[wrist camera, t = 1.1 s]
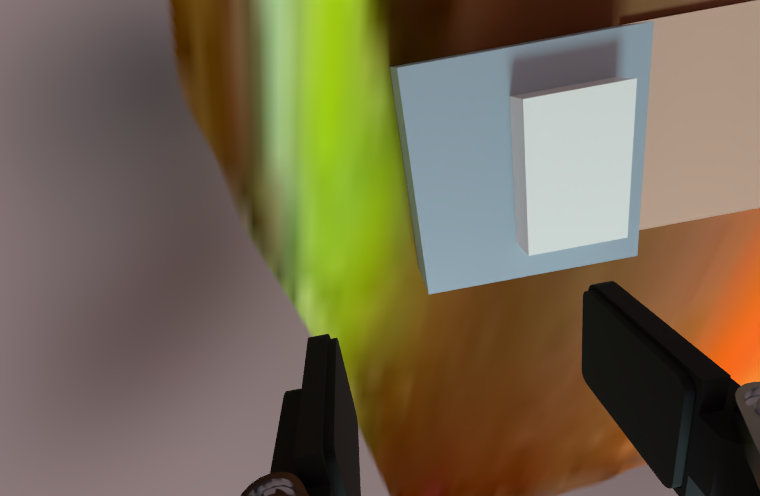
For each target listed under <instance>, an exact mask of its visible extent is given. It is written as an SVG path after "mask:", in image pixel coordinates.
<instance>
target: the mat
mask: <svg viewBox="0 0 760 496" xmlns="http://www.w3.org/2000/svg"><path fill="white" fill-rule="evenodd" d="M650 21H654V26H653V40H652V54H651V69H650V83H649V97H648V111H647V125H646V139H645V153H644V167H643V182H642V196H641V210H640V224H639V230H642V229H647V228H653V227H658V226H664V225H669V224H674V223H680V222H685V221H691V220H696V219H701V218H707V217H712V216H718V215H723V214H728V213H734V212H739V211H745V210H750V209H755V208H760V0H754V1H749V2H743V3H738V4H733V5H727V6H722V7H716V8H711V9H705V10H700V11H694V12H689V13H683V14H678V15H672V16H667V17H661V18H656V19H650V20H645V21H639V22H634V23H628V24H635V23H642V22H650ZM623 25H627V24H623Z"/></svg>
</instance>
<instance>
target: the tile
mask: <svg viewBox="0 0 760 496" xmlns="http://www.w3.org/2000/svg"><path fill="white" fill-rule="evenodd" d="M636 88H637V78H624V77H612V78H607V79H601V80H596V81H591V82H585V83H580V84H574V85H569V86H563V87H558V88H552V89H547V90H541V91H536V92H530V93H525V94H520V95H514V96H510V115H511V136H512V157H513V178H514V199H515V220H516V241H517V244H518V245H519V246H520V247H521V248H522V249H523V250H524V251H525V253H526V254H527V255H528V256H531V255H536V254H542V253H547V252H552V251H558V250H563V249H569V248H574V247H579V246H585V245H590V244H596V243H601V242H606V241H612V240H617V239H623V238H628V221H629V205H630V188H631V172H632V155H633V138H634V122H635V105H636Z"/></svg>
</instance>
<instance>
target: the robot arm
mask: <svg viewBox="0 0 760 496" xmlns="http://www.w3.org/2000/svg"><path fill="white" fill-rule="evenodd" d="M582 374H583V377H584V380H585V382H586V383H587V385H588V386H589V387H590V389H591V390H592V391H593V393H594V394H595V395H596V397H597V398H598V399H599V401H600V402H601V403H602V405H603V406H604V407H605V409H606V410H607V411H608V412H609V414H610V415H611V416H612V418H613V419H614V420H615V422H616V423H617V424H618V426H619V427H620V428H621V430H622V431H623V432H624V434H625V435H626V436H627V438H628V439H629V440H630V442H631V443H632V444H633V445H634V447H635V448H636V449H637V451H638V452H639V453H640V455H641V456H642V457H643V459H644V460H645V461H646V463H647V464H648V465H649V467H650V468H651V469H652V471H654V473H655V474H656V476H657V477H658V478H659V480H660V481H661V482H662V484H663V485H664V486H666V487H667V488H673V489H674V490H675V492H676V493H677V494H678V495H679V496H760V382H752V383H747V384H744V385H742V386H740V385H739V384H737V383H736V382H735V381H734V380H733V379H731V378H730V375H729V374H728V373H727V372H725V371H724V370H723V369H722V368H720V367H719V366H718V365H717V364H715V363H714V362H713V361H712V360H711V359H709V358H708V357H707V356H706V355H704V354H703V353H702V352H701V351H699V350H698V349H697V348H696V347H695V346H693V345H692V344H691V343H690V342H688V341H687V340H686V339H685V338H683V337H682V336H681V335H680V334H678V333H677V332H676V331H675V330H674V329H672V328H671V327H670V326H669V325H667V324H666V323H665V322H664V321H662V320H661V319H660V318H659V317H657V316H656V315H655V314H654V313H653V312H651V311H650V310H649V309H648V308H646V307H645V306H644V305H643V304H641V303H640V302H639V301H638V300H636V299H635V298H634V297H633V296H632V295H630V294H629V293H628V292H627V291H625V290H624V289H623V288H622V287H620V286H619V285H618V284H617V283H615V282H614V281H609V282H604V283H598V284H593V285H591V286H590V287H589V289H588V291H585V292H584V294H583V327H582ZM241 496H361V491H360V467H359V443H358V423H357V416H356V411H355V407H354V403H353V399H352V395H351V391H350V387H349V382H348V378H347V374H346V370H345V366H344V362H343V358H342V354H341V350H340V346H339V342H338V339H337V338H333V339H330V336H329V334H325V335H320V336H315V337H309V338H308V343H307V351H306V359H305V367H304V375H303V384H302V389H297V390H291V391H286V392H285V395H284V398H283V404H282V409H281V415H280V421H279V426H278V432H277V438H276V443H275V449H274V455H273V460H272V466H271V472H270V474H267V475H265V476H263V477H260V478H259V479H257V480H256V481H254V482H253V483H251V484H250V485H249V486H248V487H247V489H245V490H244V492H243V493H242V494H241Z"/></svg>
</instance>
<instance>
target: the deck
mask: <svg viewBox="0 0 760 496" xmlns="http://www.w3.org/2000/svg"><path fill="white" fill-rule="evenodd" d="M653 26H654V21H650V22H642V23H635V24H627V25H619V26H612V27H606V28H601V29H595V30H590V31H584V32H579V33H573V34H568V35H562V36H557V37H551V38H546V39H541V40H535V41H530V42H524V43H519V44H513V45H508V46H502V47H497V48H491V49H486V50H480V51H475V52H469V53H464V54H458V55H453V56H447V57H442V58H436V59H431V60H425V61H420V62H414V63H409V64H403V65H398V66H392V67H390V73H391V80H392V87H393V94H394V100H395V107H396V114H397V121H398V128H399V135H400V141H401V148H402V155H403V162H404V169H405V175H406V182H407V189H408V196H409V203H410V210H411V216H412V223H413V230H414V237H415V244H416V251H417V257H418V264H419V269H420V272H421V275H422V277H423V280H424V283H425V286H426V288H427V291H428V294H433V293H439V292H444V291H450V290H455V289H460V288H466V287H471V286H477V285H482V284H487V283H493V282H498V281H503V280H509V279H514V278H520V277H525V276H530V275H536V274H541V273H546V272H552V271H557V270H563V269H568V268H573V267H579V266H584V265H590V264H595V263H600V262H606V261H611V260H616V259H622V258H627V257H633V256H637V252H638V238H639V224H640V210H641V196H642V182H643V167H644V153H645V139H646V125H647V111H648V97H649V83H650V69H651V54H652V40H653ZM612 77H624V78H637V88H636V105H635V122H634V138H633V155H632V172H631V188H630V205H629V221H628V238H623V239H617V240H612V241H606V242H601V243H596V244H590V245H585V246H579V247H574V248H569V249H563V250H558V251H552V252H547V253H542V254H536V255H531V256H528V255H527V254H526V253H525V251H524V250H523V249H522V248H521V247H520V246H519V245H518V244H517V241H516V220H515V199H514V178H513V157H512V136H511V115H510V96H514V95H520V94H525V93H530V92H536V91H541V90H547V89H552V88H558V87H563V86H569V85H574V84H580V83H585V82H591V81H596V80H601V79H607V78H612Z"/></svg>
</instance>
